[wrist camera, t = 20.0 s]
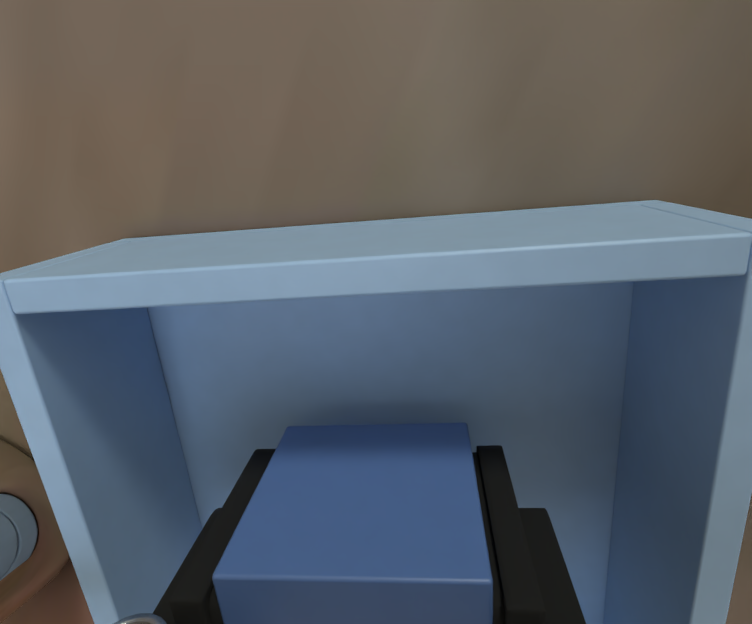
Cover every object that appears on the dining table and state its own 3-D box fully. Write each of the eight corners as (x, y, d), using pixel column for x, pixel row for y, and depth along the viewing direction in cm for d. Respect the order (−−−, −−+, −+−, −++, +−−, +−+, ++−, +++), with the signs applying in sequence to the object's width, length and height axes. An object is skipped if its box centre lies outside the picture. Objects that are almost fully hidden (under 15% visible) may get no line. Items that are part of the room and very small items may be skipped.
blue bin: (658, 199, 10) (806, 229, 6) (614, 625, 14) (688, 811, 10) (122, 238, 11) (-34, 282, 8) (218, 612, 15) (147, 769, 11)
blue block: (467, 421, 10) (493, 582, 6) (471, 566, 11) (495, 774, 7) (286, 424, 10) (209, 576, 7) (309, 563, 12) (255, 757, 8)
